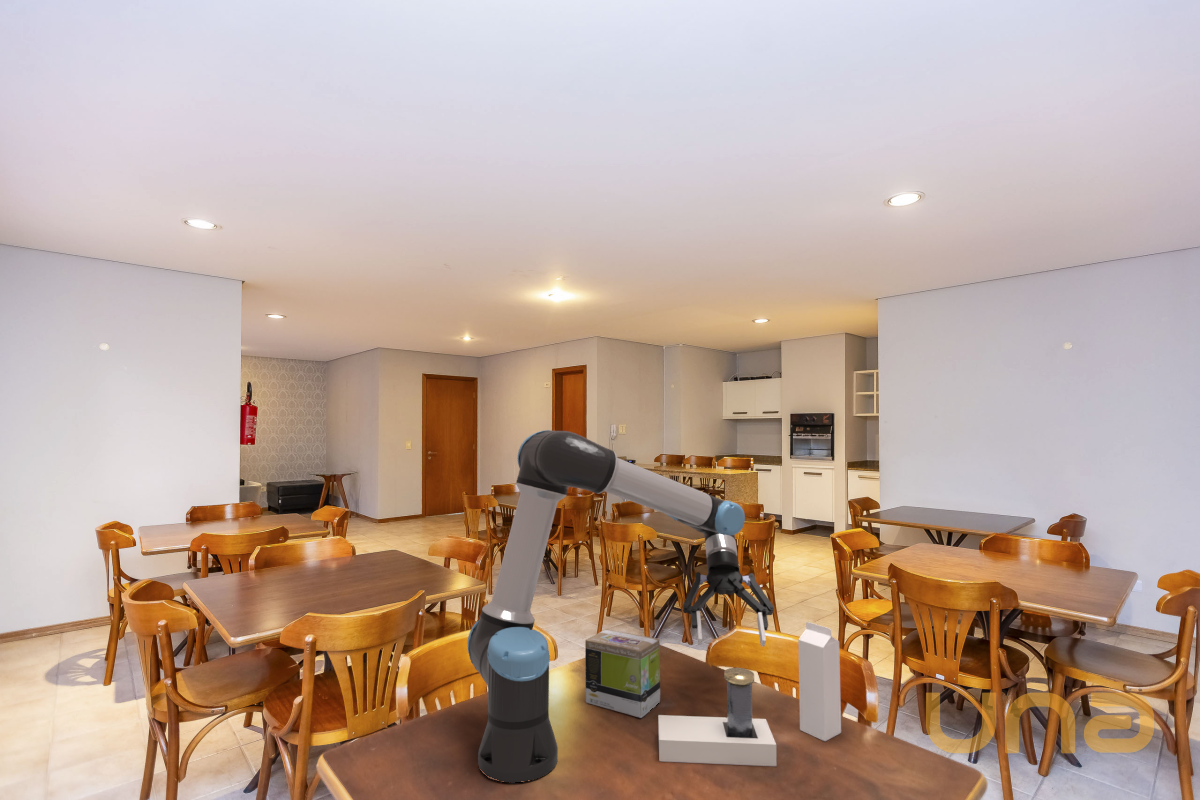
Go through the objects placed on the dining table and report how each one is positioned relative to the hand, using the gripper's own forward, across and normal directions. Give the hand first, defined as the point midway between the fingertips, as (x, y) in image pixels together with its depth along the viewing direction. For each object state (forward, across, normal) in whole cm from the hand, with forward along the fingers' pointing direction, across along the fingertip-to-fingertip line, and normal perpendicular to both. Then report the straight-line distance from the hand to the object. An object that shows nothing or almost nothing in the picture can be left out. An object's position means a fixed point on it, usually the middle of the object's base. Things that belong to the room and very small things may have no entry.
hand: (731, 642), depth 130 cm
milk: (+14, -18, -11) cm, 25 cm away
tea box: (+6, +24, -18) cm, 31 cm away
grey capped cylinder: (+20, 0, -4) cm, 20 cm away
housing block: (+20, +5, -4) cm, 21 cm away
